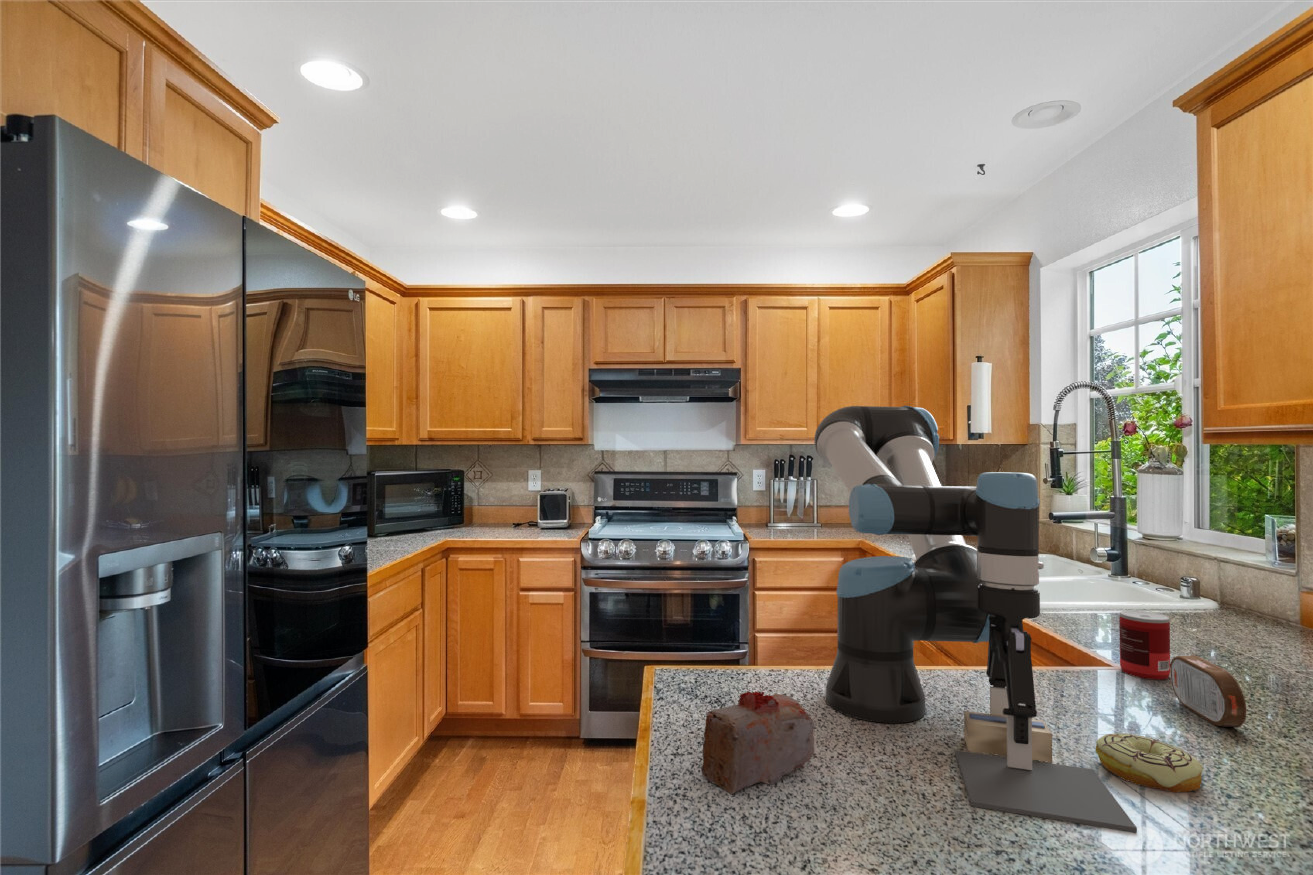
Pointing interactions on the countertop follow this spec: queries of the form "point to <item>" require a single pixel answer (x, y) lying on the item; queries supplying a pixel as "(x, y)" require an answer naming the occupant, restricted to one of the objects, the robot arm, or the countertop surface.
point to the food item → (756, 741)
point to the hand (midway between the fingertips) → (1009, 750)
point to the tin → (1208, 691)
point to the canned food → (1144, 644)
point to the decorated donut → (1149, 762)
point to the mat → (1041, 791)
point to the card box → (1003, 735)
